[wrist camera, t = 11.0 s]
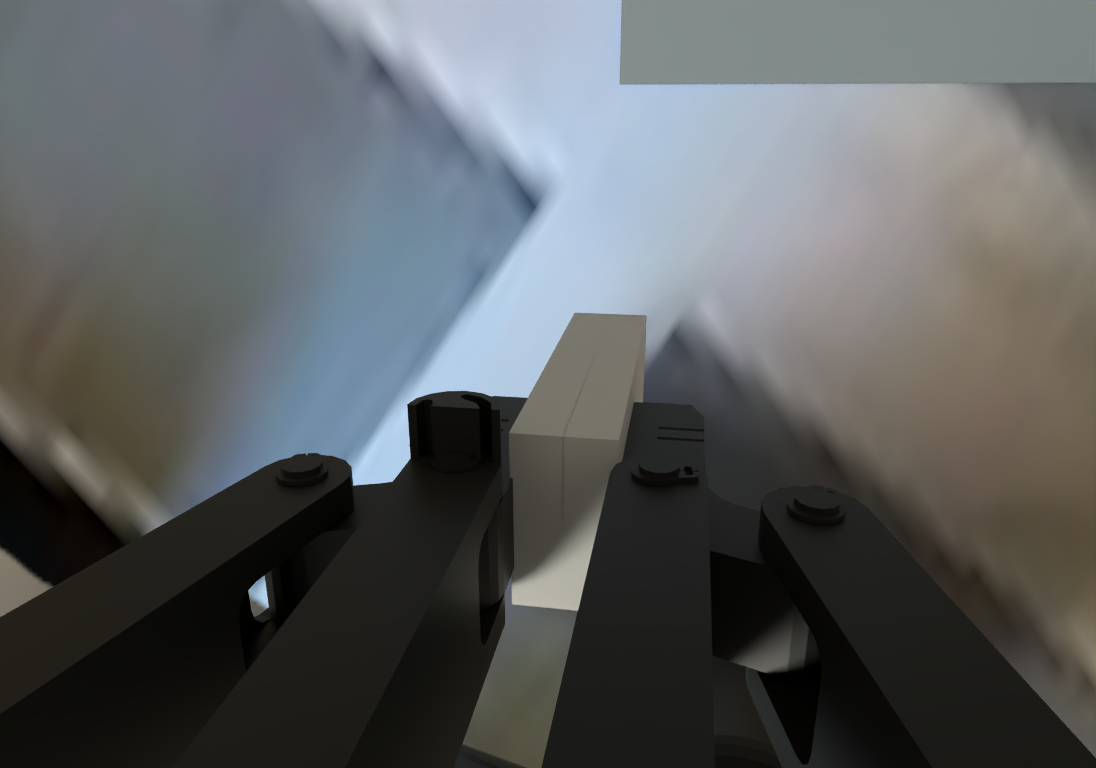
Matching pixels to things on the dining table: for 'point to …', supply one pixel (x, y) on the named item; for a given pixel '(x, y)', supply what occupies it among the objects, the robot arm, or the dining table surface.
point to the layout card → (857, 41)
